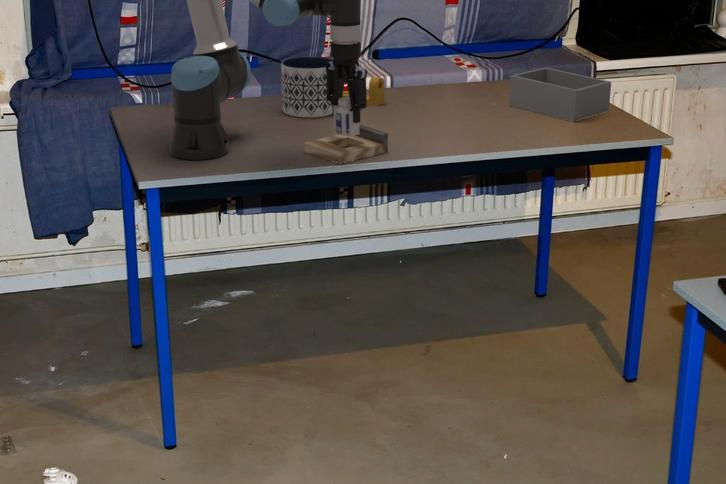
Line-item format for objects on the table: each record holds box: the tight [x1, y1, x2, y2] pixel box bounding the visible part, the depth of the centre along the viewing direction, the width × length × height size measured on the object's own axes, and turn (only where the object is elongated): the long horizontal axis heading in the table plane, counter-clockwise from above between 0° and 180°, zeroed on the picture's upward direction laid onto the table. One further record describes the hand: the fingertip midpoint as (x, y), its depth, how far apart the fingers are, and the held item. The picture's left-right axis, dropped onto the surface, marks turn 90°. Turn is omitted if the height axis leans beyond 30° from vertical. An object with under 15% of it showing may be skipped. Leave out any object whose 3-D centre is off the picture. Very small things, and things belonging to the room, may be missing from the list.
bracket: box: [342, 76, 385, 107], centre depth 326 cm, size 15×4×8 cm, turn 58°
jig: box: [303, 123, 389, 164], centre depth 279 cm, size 16×14×5 cm
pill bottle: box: [335, 97, 351, 136], centre depth 277 cm, size 5×5×9 cm
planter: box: [280, 55, 334, 119], centre depth 314 cm, size 16×16×14 cm
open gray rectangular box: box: [508, 67, 612, 121], centre depth 318 cm, size 16×24×9 cm, turn 42°
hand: (346, 132), depth 278 cm, fingers closed on pill bottle, 5 cm apart
